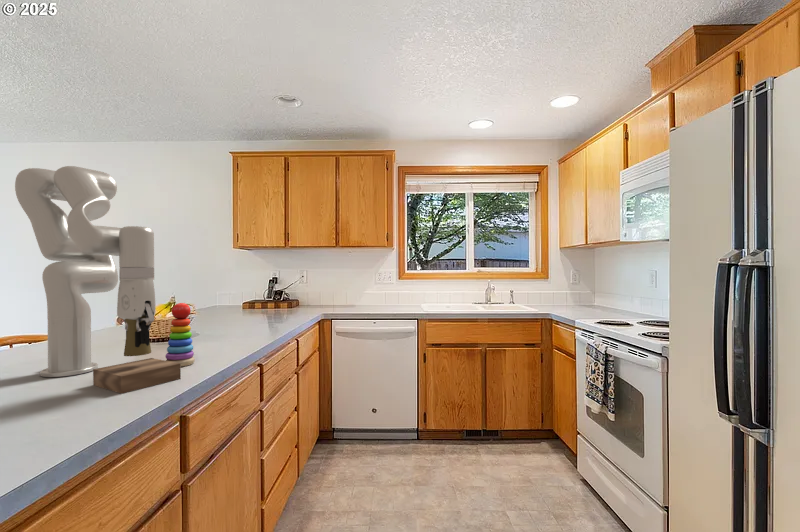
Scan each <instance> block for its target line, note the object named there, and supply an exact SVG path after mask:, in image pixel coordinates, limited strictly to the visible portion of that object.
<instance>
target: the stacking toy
mask: <svg viewBox="0 0 800 532" xmlns="http://www.w3.org/2000/svg"><path fill="white" fill-rule="evenodd" d="M191 310H192V309H191V307H190V305H189V304H187V303H185V302H179V303H177V304H176V303H175V305H173V307H172V308H171V314H172V316H173V318H174V319H172V320H171V325H172V326H171V327H170V328H169V331H170V333H169V340H168V342H167V345H168V346H167V348H166V352H167V353H165V361H170V362H175V363H180V367H187V366H191V365H193V364H194V363H195V357H194V355H195V354H194V353H195V352H193V350H194V345H193V339H192V335H193V334H192V332H191V330H192V328H191V326H190V325H191V320H190V319H189V316H190V315H191Z"/></svg>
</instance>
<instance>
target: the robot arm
mask: <svg viewBox="0 0 800 532" xmlns="http://www.w3.org/2000/svg"><path fill="white" fill-rule="evenodd" d="M117 190H118V186H117V182H116V180H115V179H114V177H112V175H110V174H109V173H107V172H104V171H99V170H95V169H89V168H85V167H81V166H75V165H67V166H66V165H65V166H62V167H60V168H57V169H56V170H52V169H47V168H38V167H37V168H36V167H32V168H31V167H29V168H25V169H23V170H21V171H19V172H18V174H16V177H15V182H14V191H15V195H16V198H17V201H18V203H19V206H20V207H21V208H22V210H23V212H24V213H25V215H26V216H27V218H28V219H29V221H30V224H31V227H32V230H33V233H34V236H35V239H36V242H37V245H38V249H39V251H40V254H42V256H43V258H44V259H46V260H49V261H53V262H51V263H50V264H48V265H47V266H46V267H45V268H43V272H42V277H41V278H42V283H43V287H44V288H43V289H44V292H45V296H46V297H45V299H46V308H47V367H45V368H44V369H41V370H40V372H39V374H40V376H41V377H43V378H59V377H68V376H69V377H71V376H77V375H81V374H85V373H90V372H93V369H97V368H99V364H98V363H97V362H92V311H91V310H92V309H91V306H90V304H89V303H88V302H87V300H86V299H85V298H84V296H83V295H84V294H96V293H97V294H99V293H107V292H110V291H111V292H112V291H113V290H114V289H115V288H116V287H117V285H118V282H119V285H118V292H117V307H116V308H117V309H116V316H117V317H118V318H119V319H122V320H123V322H124V323H123V324H125V325H124V329H125V336H126V335H127V328H128V324H127V323H126V321H125V319H131V320H136V328H137V331H136V332H135V347H139V346H140V345H141V344H146V345H147V346H148V345H149V340H150V330H151V325H152V323H153V322H155V316H156V292H155V283H154V281H155V233H154V231H153V229H152V228H150V227H147V226H137V225H136V226H135V225H130V226H129V225H128V226H122V227H117V226H106V225H96V224H95V225H94V224H93V223H92V221H96V220H98V219H101V218H103V217H104V216H105V215H106V214H108V213H109V211H110V209H111V202H110V200H112V199H114V198H115V196H116V194H117V193H118V191H117ZM52 200H53V201H54V200H56V201H62V202H67V203H68V205H69V206H70V208H71V210H70V211H69V213H68V215H67V213H66V212H65V211H64V209H62V208H61V207H60V206H59V205H57V204H56V203H55V202H53V201H52ZM114 256H115V257H118V262H119V268H118V269H117V266H116V263H115V261H114V258H113V257H114ZM54 261H55V262H54ZM118 270H119V275H118ZM141 316H146V318H141V319H140V317H141ZM141 321H143V322H142V323H141Z"/></svg>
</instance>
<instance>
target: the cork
mask: <svg viewBox="0 0 800 532" xmlns="http://www.w3.org/2000/svg"><path fill="white" fill-rule="evenodd" d="M141 318H146V316H141V317H140V319H141ZM125 321H126V323H127V324H128V328H127V335H126V334H125V344H124V350H123V356H124V357H137V356H138V357H139V356H146V355H149V354H151V353H152V347H151V342H150V339H149V345H148V346H147V345H146V344H141V345H140V346H139V347H135V332H136V331H137V328H136V320H131V319H125ZM142 322H143V321H141V323H142Z"/></svg>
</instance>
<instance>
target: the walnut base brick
mask: <svg viewBox="0 0 800 532" xmlns="http://www.w3.org/2000/svg"><path fill="white" fill-rule="evenodd" d="M181 370H182V369H181V367H180V363H175V362H170V361H166V359H165V360H164V359H158V358H153V357H150V358H145V359H138V360H135V361H128V362H124V363H118V364H114V365H108V366H104V367H98V368H97V369H93V371H92V373H93V374H92V375H93V376H92V379H93V380H92V385H93V386H94V387H97V388H101V389H105V390H108V391H112V392H114V393H117V394H118V393H119V394H121V395H122V394H125V393H129V392H133V391H137V390H142V389H146V388H149V387H153V386H157V385H161V384H165V383H169V382H173V381H177V380H181V377H182V376H181Z"/></svg>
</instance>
